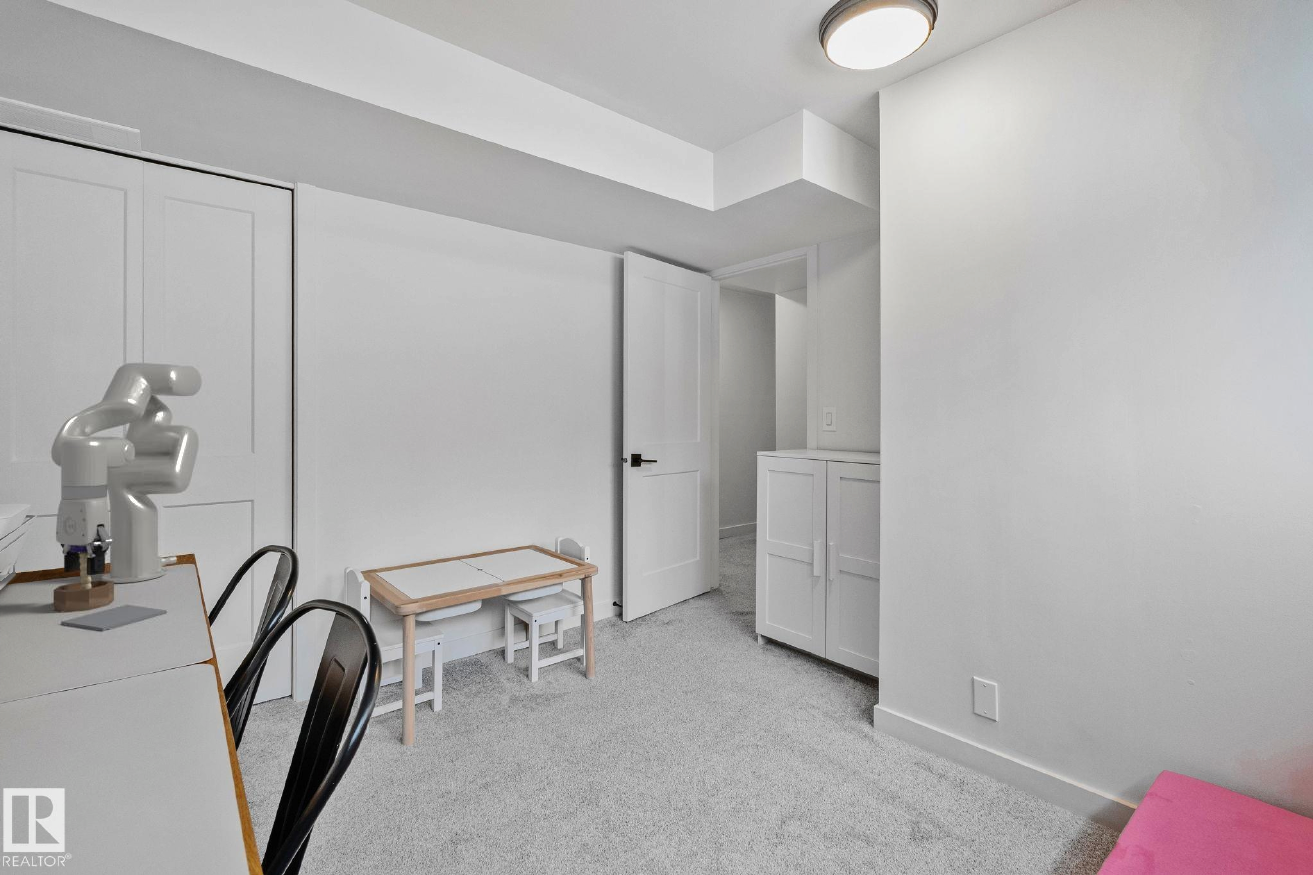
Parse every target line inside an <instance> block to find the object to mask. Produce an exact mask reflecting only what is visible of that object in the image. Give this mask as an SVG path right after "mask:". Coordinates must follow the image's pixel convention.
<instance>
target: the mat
mask: <svg viewBox="0 0 1313 875" xmlns="http://www.w3.org/2000/svg"><path fill="white" fill-rule="evenodd" d="M167 613H168V612H167V609H166V610H165V609H162V608H161V609H159V608H152V607H146V606H139V605H130V604H124V605H121V606H116V607H113V608H108V609H105V610H100V611H97V612H93V613H88V614H85V615H82V616H78V617H74V618H70V619H67V620H61V621H60V622H61V623H60V625H62V624H66V625H65V626H68V625H70V627H74V626H77V627H76V628H80V627H82V628H81V629H87V628H89V629H88V630H93V629H97V630H96V631H99V630H100V631H99V632H104V631H108V630H107V629H109V630H111V628H112V629H116V628H120V627H123V626H126V625H130V624H133V623H137V622H140V621H144V620H147V619H151V618H154V617H158V616H162V615H165V614H167Z"/></svg>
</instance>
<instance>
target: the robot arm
mask: <svg viewBox="0 0 1313 875" xmlns="http://www.w3.org/2000/svg"><path fill="white" fill-rule="evenodd" d="M202 380H203V379H202V375H201V373H200V372H199V370H198V369H197V368H195V367H194V366H192V365H191V366H189V365H178V364H168V363H166V364H165V363H151V362H150V363H148V362H143V363H142V362H129V363H124V364H122V365H121V366H119V367H118V368H117V370H116V371H115V373H114V375H113V378H112V379H111V381H110V383H109V384H108V386H107V389H106V391H105V393H104V396H103V397H102V399H101V401H99V402H98V403H96V404H93V405H91V406H89V407H87V408H85V409H83V410H81V411H80V412H77V413H76V414H74V415H72V416H71V417H70V418H68V419H67V420H66V421H65V422H64V423H63V425H61V427H60V429H59V431H58V432H57V434H56V436H55V437H54V438H55V439H54V441H53V444H52V446H51V450H50V454H51V460H52V462H53V463H54V464H55V465H56V466H58V467H60V500H59V501H60V502H59V505H58V510H57V517H56V526H55V528H56V530H55V539H56V540H55V541H56V542H57V543H58V544H60V546H61V548H62V551H61V552H62V554H63V572H64V573H73V572H77V571H81V570H80V565H81V563H80V558H81V557H80V556H79V552H71V551H70V547H71V545H77V546H86V547H87V550H88V554H89V557H87V575H90V576H94V575H99V574H103V575H102V576H101V580H109V581H114V584H123V583H134V582H143V581H147V580H148V581H149V580H153V579H156V578H160V577H162V576H163V575H165V574H166V569H165V568H163V567H165V565H171V564H176V563H177V561H178V560H177V557H176V556H175V555H172V556H167V557H163V556H158V552H159V548H158V546H159V544H158V543H159V541H158V540H159V538H158V537H159V534H158V532H159V530H158V529H159V527H158V526H159V522H158V520H159V510H158V508H157V505H156V504H155V503H154V502H153V500H152V499H151V498H150V497H149V495H170V494H171V495H172V494H180V493H183V492H185V491H186V490H187V489H188V487H189V485H190V483H191V480H192V476H193V472H194V468H195V463H196V459H197V455H198V451H199V450H198V449H199V437H198V433H197V431H196V430H195V429H194V428H192V427H190V426H188V425H181V424H180V425H178V424H171V423H172V419H173V413H172V410H170V408H169V407H168V405H166V404H165V403H164V402H163V401H162V400H161V399H159V397H158V396H165V397H166V396H167V397H172V396H174V397H191V396H195V395H196V394H198V392H200V389H201V386H202ZM124 425H128V428H127V431H126V434H125V436H124V437H118V436H92V435H94V434H96V433H99V432H102V431H105V430H109V429H114V428H117V427H120V426H121V427H122V426H124ZM107 500H109V505H108V501H107ZM95 540H96V542H94V543H92V542H93V541H95ZM93 546H97V547H96V549H95V550H94V548H93ZM108 551H109V562H110V563H109V572H108V573H106V574H104V573H105V572H106V556H107V555H108Z"/></svg>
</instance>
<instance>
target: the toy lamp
mask: <svg viewBox="0 0 1313 875" xmlns="http://www.w3.org/2000/svg"><path fill="white" fill-rule="evenodd" d="M94 542H96V540H95V541H93V542H92V543H94ZM96 547H97V546H93V548H94V550H95V549H96ZM70 551H71V552H78V553H79V556H80V557H81V558H80V563H81V565H80V570H79V571H80V572H79V575H80V580H79V582H81V584H82V585H81V590H83V589H91V587H92V586H91V581H92V578H91V575H87V557H89V554H88V550H87V547H86V546H77V545H71V547H70Z"/></svg>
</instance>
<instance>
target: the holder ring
mask: <svg viewBox="0 0 1313 875" xmlns="http://www.w3.org/2000/svg"><path fill="white" fill-rule="evenodd" d="M81 585H82V584H81V582H80V581H76V582H71V583H66V584H62V585H59V586H58V587H56V588H55V589H53V611H54V612H61V611H62V612H63V613H71V612H72V611H73V612H81V611H90V610H93V609H98V608H102V606H103V607H105V606H109V605H111V604H112V603H113V602H114V601H115V583H114V581H109V580H102V579H94V580H93V579H91V586H92V587H91V589H83V590H81Z"/></svg>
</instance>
